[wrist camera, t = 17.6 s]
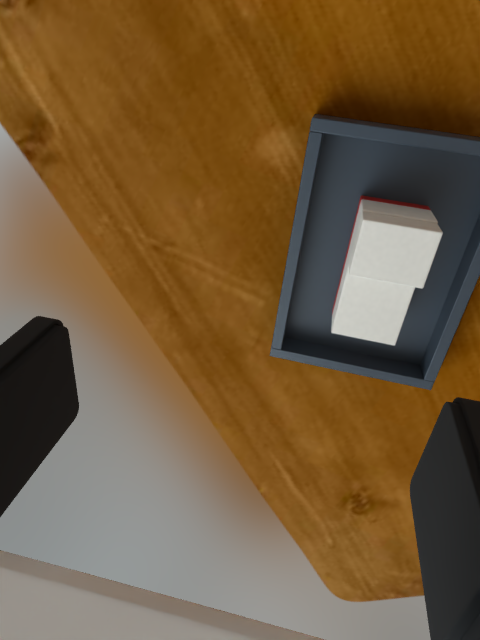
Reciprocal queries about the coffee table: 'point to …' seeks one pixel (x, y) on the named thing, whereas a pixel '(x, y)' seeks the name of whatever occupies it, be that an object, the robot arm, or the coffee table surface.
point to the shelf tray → (335, 231)
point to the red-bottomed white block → (383, 268)
